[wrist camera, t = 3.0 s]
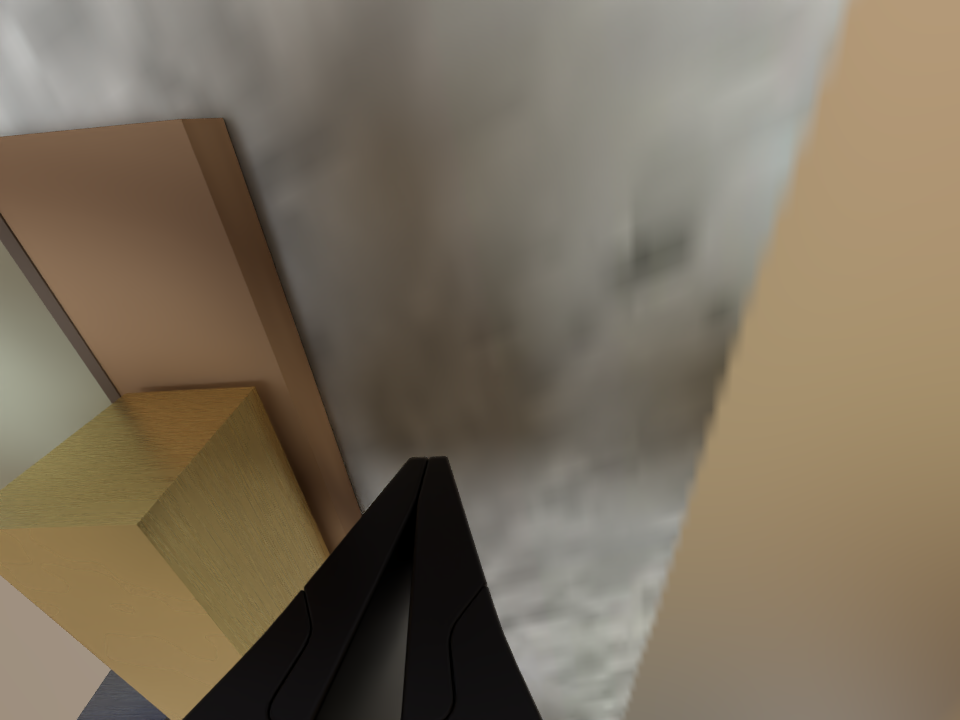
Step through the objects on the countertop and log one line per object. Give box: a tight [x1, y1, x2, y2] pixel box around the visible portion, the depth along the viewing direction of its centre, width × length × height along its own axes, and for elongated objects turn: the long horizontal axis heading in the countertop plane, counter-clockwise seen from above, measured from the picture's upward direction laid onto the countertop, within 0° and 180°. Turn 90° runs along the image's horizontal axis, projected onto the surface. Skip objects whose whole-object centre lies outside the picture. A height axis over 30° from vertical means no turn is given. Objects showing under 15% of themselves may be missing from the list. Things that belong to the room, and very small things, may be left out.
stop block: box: [77, 669, 171, 720], centre depth 14 cm, size 2×3×4 cm, turn 95°
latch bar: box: [0, 386, 330, 720], centre depth 10 cm, size 10×3×4 cm, turn 5°
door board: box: [0, 118, 362, 554], centre depth 12 cm, size 18×10×1 cm, turn 5°
